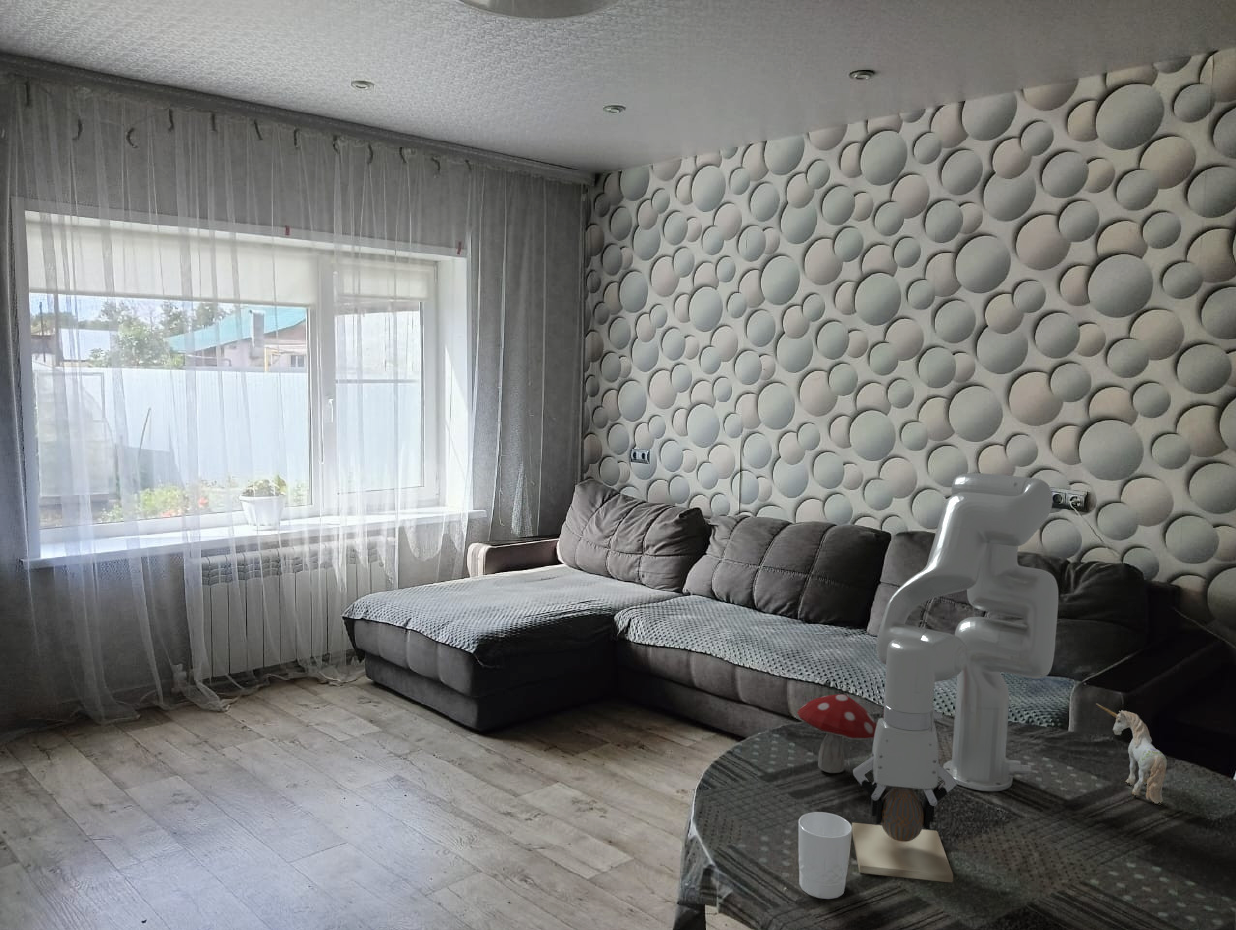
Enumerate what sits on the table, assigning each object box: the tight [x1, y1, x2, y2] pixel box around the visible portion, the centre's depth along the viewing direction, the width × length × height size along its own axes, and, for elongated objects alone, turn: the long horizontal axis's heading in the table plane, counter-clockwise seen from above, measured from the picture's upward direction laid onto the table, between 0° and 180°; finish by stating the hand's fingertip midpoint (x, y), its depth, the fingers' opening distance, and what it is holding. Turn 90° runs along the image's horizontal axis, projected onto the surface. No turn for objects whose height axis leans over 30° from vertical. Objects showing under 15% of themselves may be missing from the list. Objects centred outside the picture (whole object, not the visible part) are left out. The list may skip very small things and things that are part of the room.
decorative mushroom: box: [796, 693, 877, 774], centre depth 182 cm, size 16×16×15 cm
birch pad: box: [851, 822, 954, 883], centre depth 151 cm, size 14×14×1 cm
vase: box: [881, 787, 924, 842], centre depth 150 cm, size 7×7×9 cm
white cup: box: [797, 811, 853, 900], centre depth 140 cm, size 8×8×10 cm
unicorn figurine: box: [1095, 703, 1168, 804], centre depth 176 cm, size 7×20×13 cm, turn 4°
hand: (901, 821), depth 150 cm, fingers closed on vase, 7 cm apart
